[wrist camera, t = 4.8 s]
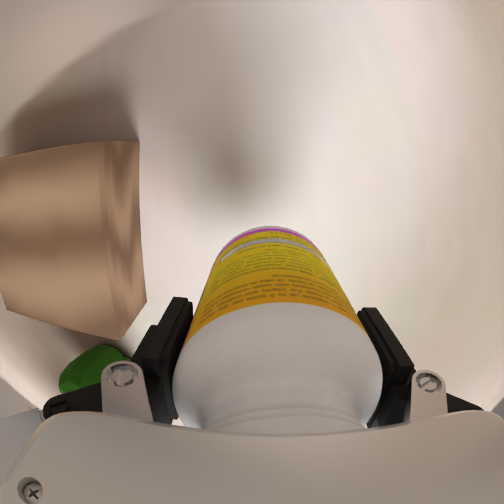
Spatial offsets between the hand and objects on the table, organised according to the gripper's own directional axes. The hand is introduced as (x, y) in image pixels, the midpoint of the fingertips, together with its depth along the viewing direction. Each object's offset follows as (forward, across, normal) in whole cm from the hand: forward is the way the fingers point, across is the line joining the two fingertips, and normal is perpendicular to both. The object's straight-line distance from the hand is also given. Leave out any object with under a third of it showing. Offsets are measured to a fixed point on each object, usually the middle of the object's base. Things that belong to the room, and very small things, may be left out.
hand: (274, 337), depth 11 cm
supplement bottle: (+6, 0, 0) cm, 6 cm away
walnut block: (+12, +17, -1) cm, 21 cm away
